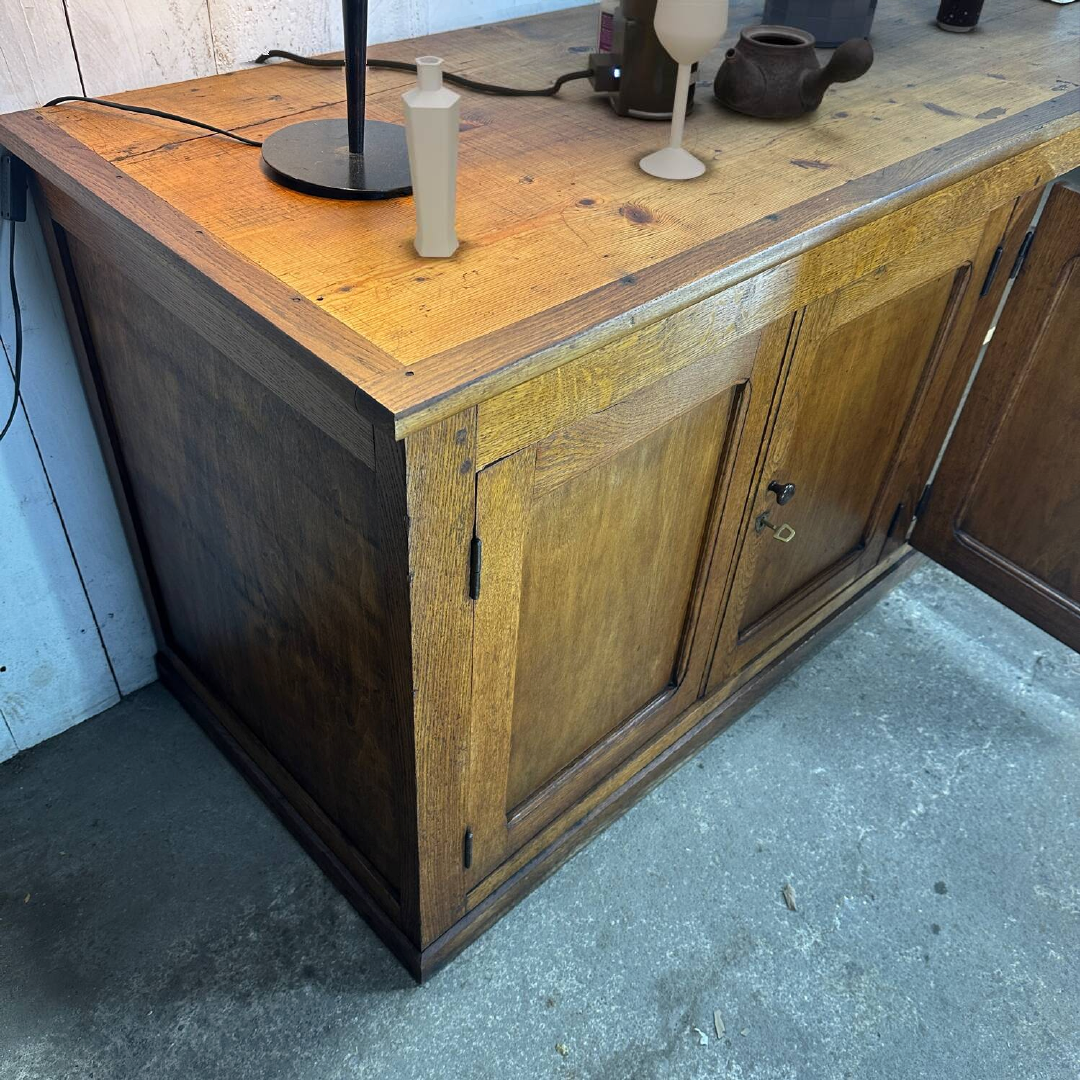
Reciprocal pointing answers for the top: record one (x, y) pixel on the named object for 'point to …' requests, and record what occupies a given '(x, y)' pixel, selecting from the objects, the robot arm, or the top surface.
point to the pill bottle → (605, 25)
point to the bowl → (823, 18)
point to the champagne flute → (684, 72)
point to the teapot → (784, 71)
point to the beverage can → (959, 14)
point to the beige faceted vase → (433, 157)
